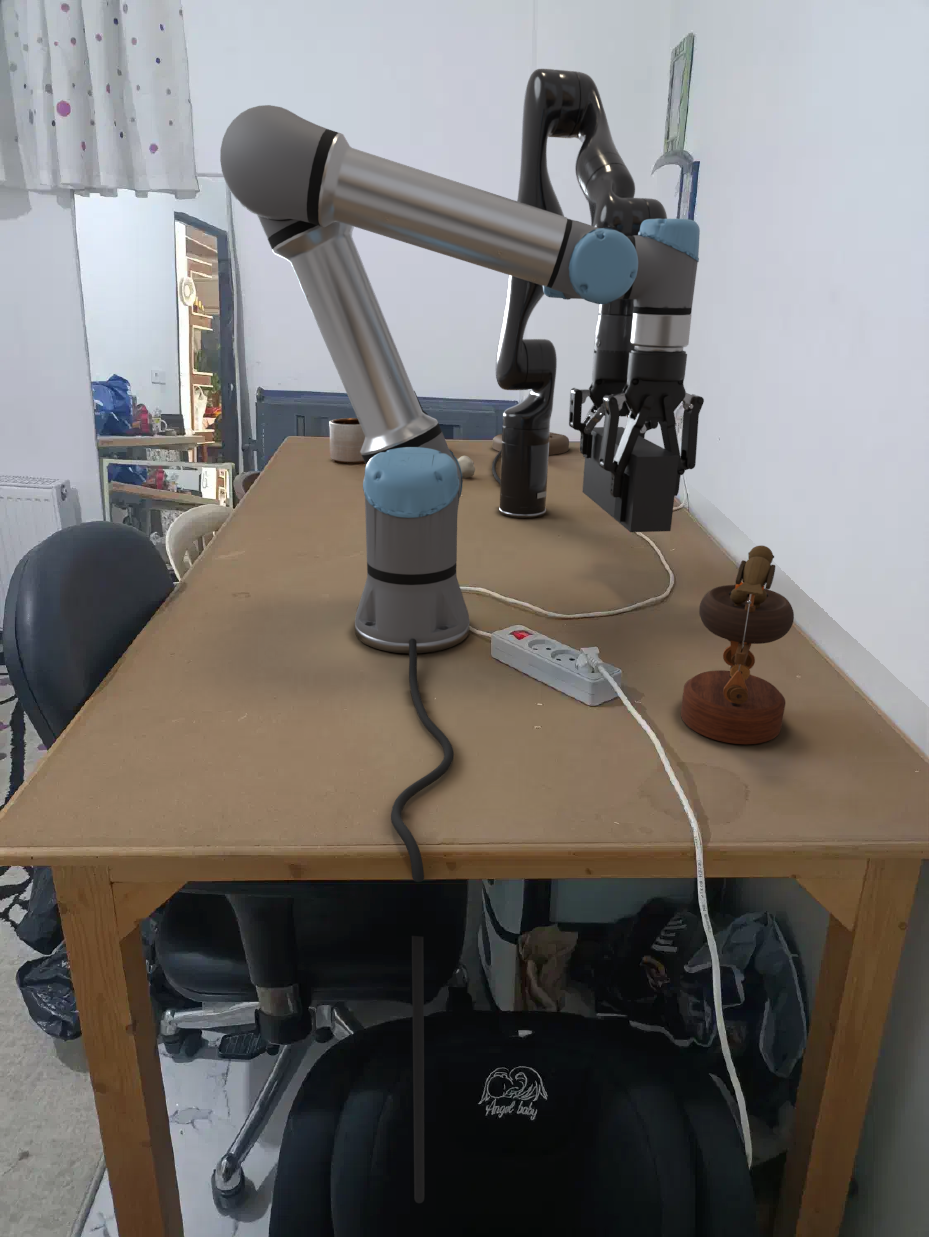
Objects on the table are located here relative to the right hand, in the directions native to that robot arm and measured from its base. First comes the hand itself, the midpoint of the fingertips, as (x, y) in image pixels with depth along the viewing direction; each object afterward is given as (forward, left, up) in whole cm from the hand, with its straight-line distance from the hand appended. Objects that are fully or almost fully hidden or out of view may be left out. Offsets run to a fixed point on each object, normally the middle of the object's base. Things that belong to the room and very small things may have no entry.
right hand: (610, 456), depth 132 cm
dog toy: (-69, -9, -18) cm, 72 cm away
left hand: (+15, -2, -6) cm, 16 cm away
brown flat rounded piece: (-90, +25, -18) cm, 95 cm away
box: (+7, -1, -7) cm, 10 cm away
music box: (+50, -10, -18) cm, 54 cm away
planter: (-93, -23, -18) cm, 98 cm away
